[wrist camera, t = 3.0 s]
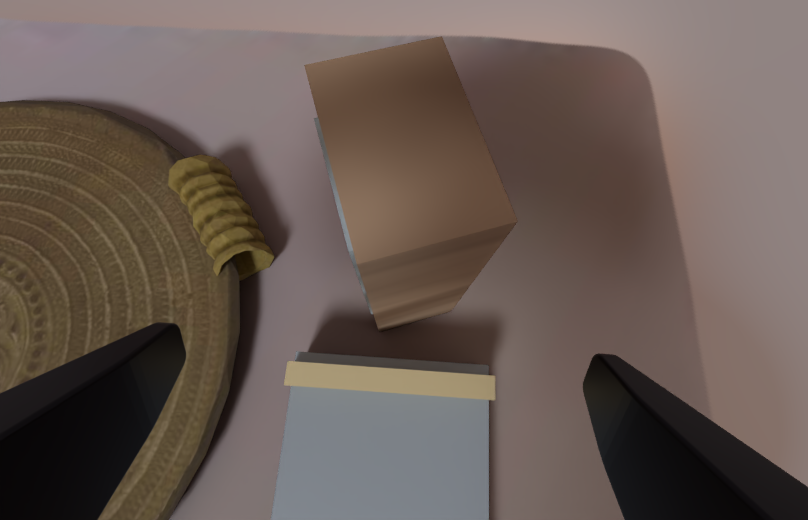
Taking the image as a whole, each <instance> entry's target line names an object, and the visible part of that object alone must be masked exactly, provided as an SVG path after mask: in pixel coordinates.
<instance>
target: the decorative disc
mask: <svg viewBox="0 0 808 520" xmlns="http://www.w3.org/2000/svg"><path fill="white" fill-rule="evenodd" d="M258 227H259V225H258V223H257V222H256V221H255V220H254V219H253V218H252V210H251V207H250V206H249V205H248V204H247V203H246V202H245V201H244V200H243V197H242V194H241V192H240V191H239V190H238V189H237V186H236V183H235V181H233V180H232V176H231V172H230V169H229V168H228V167H227V166H226V165H225V164H223V163H222V162H221V161H220V160H219V159H217V158H215V157H211V156H206V155H201V154H200V155H196V156H193V157H189V158H184V157H183V155H182V154H181V153H180V152H178V151H177V150H176V149H174V148H173V147H172V146H170V145H169V144H168V143H166V142H165V141H164V140H162V139H161V138H160V137H159V136H157V135H156V134H155V133H153V132H152V131H151V130H149V129H148V128H146V127H143V126H141V125H139V124H137V123H135V122H132V121H130V120H128V119H126V118H124V117H121V116H119V115H117V114H115V113H113V112H110V111H106V110H102V109H97V108H93V107H88V106H84V105H79V104H75V103H70V102H54V101H27V100H21V101H8V102H0V393H2V392H4V391H6V390H8V389H11V388H13V387H15V386H17V385H19V384H22V383H24V382H26V381H28V380H30V379H33V378H35V377H37V376H39V375H41V374H44V373H46V372H48V371H50V370H52V369H55V368H57V367H59V366H61V365H63V364H66V363H68V362H70V361H72V360H74V359H77V358H79V357H81V356H83V355H85V354H88V353H90V352H92V351H94V350H96V349H98V348H101V347H103V346H105V345H107V344H109V343H112V342H114V341H116V340H118V339H120V338H123V337H125V336H127V335H129V334H131V333H134V332H136V331H138V330H140V329H142V328H145V327H147V326H149V325H151V324H153V323H157V322H164V323H175V324H177V325H178V326H179V328H180V331H181V334H182V338H183V342H184V346H185V350H186V361H185V364H184V366H183V368H182V370H181V372H180V374H179V377H178V379H177V381H176V383H175V385H174V387H173V389H172V391H171V393H170V395H169V397H168V399H167V401H166V404H165V406H164V408H163V410H162V412H161V414H160V416H159V418H158V420H157V422H156V424H155V426H154V428H153V429H152V431H151V433H150V435H149V436H148V438H147V440H146V441H145V443H144V445H143V446H142V448H141V450H140V451H139V453H138V455H137V456H136V458H135V459H134V461H133V463H132V464H131V466H130V468H129V469H128V471H127V473H126V474H125V476H124V477H123V479H122V481H121V482H120V484H119V486H118V487H117V489H116V491H115V492H114V494H113V495H112V497H111V499H110V500H109V502H108V504H107V505H106V507H105V509H104V510H103V512H102V513H101V515H100V517H99V518H98V520H169V518H170V516H171V515H172V513H173V511H174V509H175V508H176V506H177V504H178V502H179V501H180V499H181V497H182V495H183V494H184V492H185V490H186V488H187V487H188V485H189V483H190V481H191V480H192V478H193V476H194V474H195V473H196V471H197V469H198V467H199V466H200V464H201V462H202V460H203V459H204V457H205V455H206V453H207V450H208V448H209V445H210V442H211V440H212V437H213V435H214V432H215V429H216V427H217V424H218V422H219V419H220V416H221V414H222V411H223V408H224V405H225V402H226V399H227V396H228V393H229V389H230V384H231V378H232V373H233V367H234V361H235V356H236V350H237V345H238V339H239V333H240V300H239V280H244V279H246V278H247V277H249V276H250V275H252V274H254V273H257V272H259V271H261V270H264V269H266V268H268V267H270V265H271V263H272V261H273V259H274V255H273V253H272V251H271V249H270V248H269V247H268V246H267V245H266V244H265V237H264V236H263V234H262V233H261V231H260V230H259V229H258Z"/></svg>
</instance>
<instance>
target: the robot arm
mask: <svg viewBox="0 0 808 520" xmlns="http://www.w3.org/2000/svg"><path fill="white" fill-rule="evenodd" d="M185 361H186V350H185V346H184V342H183V338H182V334H181V331H180V328H179V326H178V325H177V324H175V323H164V322H157V323H153V324H151V325H149V326H147V327H145V328H142V329H140V330H138V331H136V332H134V333H131V334H129V335H127V336H125V337H123V338H120V339H118V340H116V341H114V342H112V343H109V344H107V345H105V346H103V347H101V348H98V349H96V350H94V351H92V352H90V353H88V354H85V355H83V356H81V357H79V358H77V359H74V360H72V361H70V362H68V363H66V364H63V365H61V366H59V367H57V368H55V369H52V370H50V371H48V372H46V373H44V374H41V375H39V376H37V377H35V378H33V379H30V380H28V381H26V382H24V383H22V384H19V385H17V386H15V387H13V388H11V389H8V390H6V391H4V392H2V393H0V520H98V518H99V517H100V515H101V513H102V512H103V510H104V509H105V507H106V505H107V504H108V502H109V500H110V499H111V497H112V495H113V494H114V492H115V491H116V489H117V487H118V486H119V484H120V482H121V481H122V479H123V477H124V476H125V474H126V473H127V471H128V469H129V468H130V466H131V464H132V463H133V461H134V459H135V458H136V456H137V455H138V453H139V451H140V450H141V448H142V446H143V445H144V443H145V441H146V440H147V438H148V436H149V435H150V433H151V431H152V429H153V428H154V426H155V424H156V422H157V420H158V418H159V416H160V414H161V412H162V410H163V408H164V406H165V404H166V401H167V399H168V397H169V395H170V393H171V391H172V389H173V387H174V385H175V383H176V381H177V379H178V377H179V374H180V372H181V370H182V368H183V366H184V364H185ZM583 392H584V396H585V400H586V404H587V407H588V411H589V415H590V419H591V422H592V426H593V430H594V433H595V437H596V441H597V444H598V448H599V451H600V455H601V458H602V461H603V464H604V467H605V470H606V472H607V475H608V478H609V480H610V483H611V485H612V488H613V491H614V493H615V496H616V498H617V501H618V504H619V506H620V509H621V511H622V514H623V517H624V519H625V520H808V487H807V486H806V485H804V484H803V483H801V482H800V481H798V480H797V479H795V478H794V477H792V476H791V475H790V474H788V473H787V472H785V471H784V470H782V469H781V468H779V467H778V466H777V465H775V464H774V463H772V462H771V461H769V460H768V459H766V458H765V457H763V456H762V455H761V454H759V453H758V452H756V451H755V450H753V449H752V448H750V447H749V446H747V445H746V444H744V443H743V442H742V441H740V440H739V439H737V438H736V437H734V436H733V435H731V434H730V433H728V432H727V431H726V430H724V429H723V428H721V427H720V426H718V425H717V424H715V423H714V422H713V421H711V420H710V419H708V418H707V417H705V416H704V415H702V414H701V413H699V412H698V411H697V410H695V409H694V408H692V407H691V406H689V405H688V404H686V403H685V402H683V401H682V400H681V399H679V398H678V397H676V396H675V395H673V394H672V393H670V392H669V391H667V390H666V389H665V388H663V387H662V386H660V385H659V384H657V383H656V382H654V381H653V380H651V379H650V378H649V377H647V376H646V375H644V374H643V373H641V372H640V371H638V370H637V369H635V368H634V367H633V366H631V365H630V364H628V363H627V362H625V361H624V360H622V359H621V358H619V357H618V356H616V355H612V354H596V355H594V356H593V358H592V360H591V363H590V365H589V368H588V371H587V373H586V376H585V379H584V382H583Z"/></svg>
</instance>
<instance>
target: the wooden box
mask: <svg viewBox="0 0 808 520" xmlns="http://www.w3.org/2000/svg"><path fill="white" fill-rule="evenodd" d="M304 66H305V69H306V73H307V77H308V81H309V85H310V88H311V92H312V96H313V100H314V104H315V107H316V111H317V115H318V118H314V120H315V124H316V128H317V132H318V136H319V140H320V143H321V147H322V151H323V155H324V159H325V163H326V167H327V171H328V174H329V178H330V182H331V186H332V190H333V194H334V198H335V201H336V205H337V209H338V213H339V217H340V221H341V225H342V228H343V232H344V236H345V240H346V244H347V248H348V252H349V254H350V257H351V260H352V263H353V265H354V268H355V271H356V274H357V276H358V279H359V282H360V285H361V287H362V290H363V293H364V296H365V299H366V301H367V304H368V307H369V310H370V312H371V314H373V315H374V318H375V321H376V324H377V327H378V330H379V332H381V331H384V330H388V329H391V328H395V327H398V326H402V325H405V324H409V323H412V322H416V321H419V320H423V319H426V318H430V317H433V316H437V315H440V314H444V313H447V312H451V311H452V309H453V308H454V307H455V305H456V304H457V303H458V301H459V300H460V299H461V297H462V296H463V295H464V293H465V292H466V291H467V289H468V288H469V286H470V285H471V284H472V282H473V281H474V280H475V278H476V277H477V276H478V274H479V273H480V272H481V270H482V269H483V268H484V266H485V265H486V264H487V262H488V261H489V260H490V258H491V257H492V256H493V254H494V253H495V251H496V250H497V249H498V247H499V246H500V245H501V243H502V242H503V241H504V239H505V238H506V237H507V235H508V234H509V233H510V231H511V230H512V229H513V227H514V226H515V225H516V223H517V222H518V221H517V218H516V216H515V213H514V211H513V208H512V206H511V204H510V201H509V199H508V196H507V194H506V191H505V189H504V186H503V184H502V182H501V179H500V177H499V174H498V172H497V169H496V167H495V165H494V162H493V160H492V157H491V155H490V152H489V150H488V148H487V145H486V143H485V140H484V138H483V135H482V133H481V131H480V128H479V126H478V123H477V121H476V118H475V116H474V114H473V111H472V109H471V106H470V104H469V101H468V99H467V96H466V94H465V92H464V89H463V87H462V84H461V82H460V79H459V77H458V75H457V72H456V70H455V67H454V65H453V62H452V60H451V58H450V55H449V53H448V50H447V48H446V45H445V43H444V41H443V38H442V36H441V37H436V38H432V39H427V40H422V41H417V42H413V43H408V44H403V45H398V46H393V47H389V48H384V49H379V50H374V51H370V52H365V53H360V54H355V55H350V56H346V57H341V58H336V59H331V60H327V61H322V62H317V63H312V64H308V65H304Z"/></svg>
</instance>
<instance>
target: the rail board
mask: <svg viewBox="0 0 808 520" xmlns="http://www.w3.org/2000/svg"><path fill="white" fill-rule="evenodd" d="M284 385H287V386H291V390H290V397H289V403H288V410H287V417H286V423H285V430H284V436H283V443H282V450H281V456H280V463H279V470H278V476H277V483H276V489H275V496H274V503H273V509H272V516H271V520H489V400H495V376H492V375H489V365H480V364H466V363H452V362H438V361H423V360H409V359H395V358H381V357H367V356H353V355H339V354H325V353H311V352H297V351H296V357H295V361H288V362H287V368H286V375H285V381H284Z"/></svg>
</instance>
